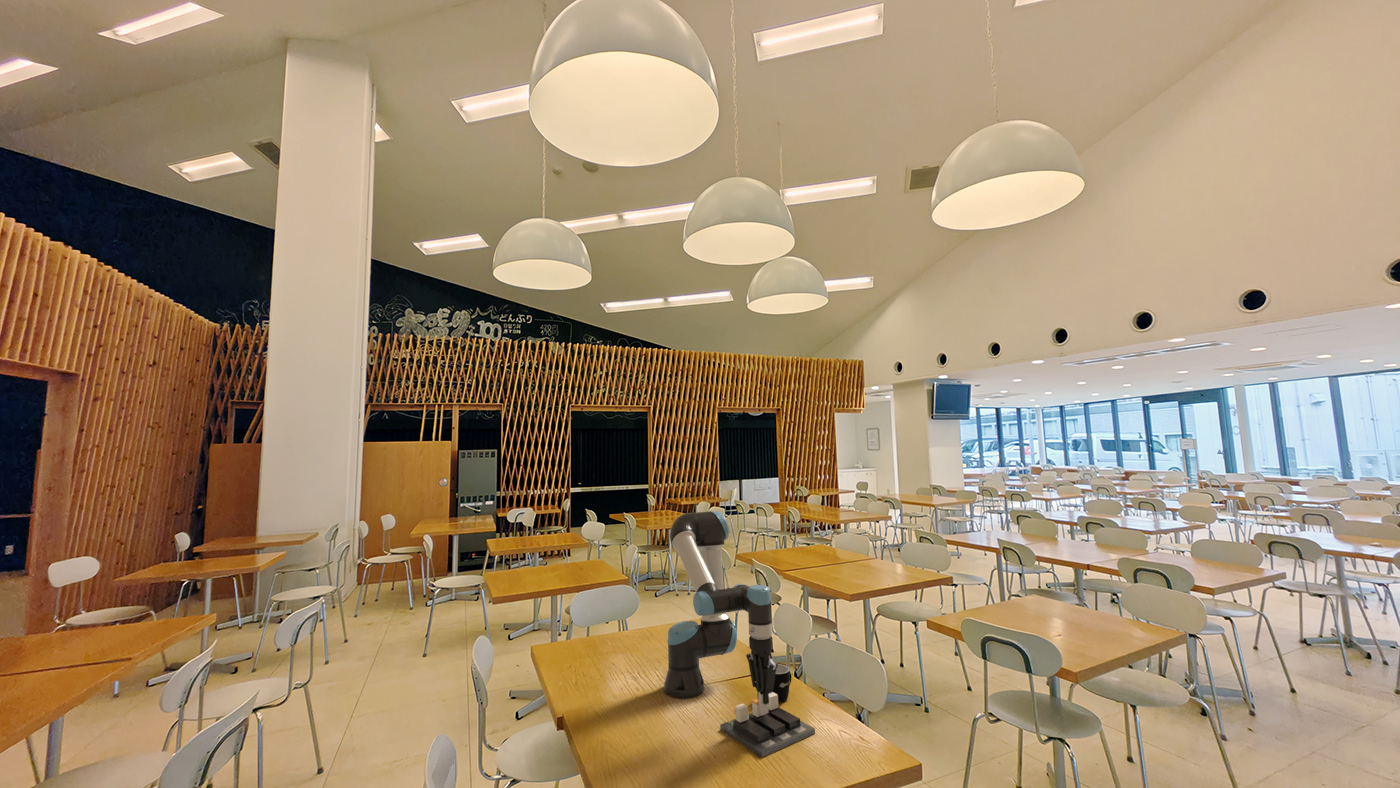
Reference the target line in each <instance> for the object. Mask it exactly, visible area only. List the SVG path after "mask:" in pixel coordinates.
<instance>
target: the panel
mask: <svg viewBox="0 0 1400 788" xmlns="http://www.w3.org/2000/svg"><path fill="white" fill-rule="evenodd" d="M768 712H769V713H767V714H765V715H762V716H760V717H756V716H755V715H753V711H752V712H750V713H749V712H748V720H746V721H743V722H738V721H737V720H735V718H733V719H732V720H730V721H729V720H728V721H725V722H724V723H721V724H719V728H720V731H722V732H723V733H725V734H726V736H727V735H728V736H729V737H731V739H733V740H735V741H737V743H739V744H740V745H742V746H744V747H746V748H747V749H748V750H750V751H751V752H752V753H754V754H756V755H757V756H759V758H762V759H763V758H765V757H766V756H769V755H771V754H773V753H775V752H778V751H780V750H782V749H784V748H786V747H788V746H791V745H793V744H795V743H797V742H799V741H803V740H805V739H806V738H808V737H810V736H813V735H815V734H816V728H815V727H813V726H811V725H810V724H807V723H806V722H804V721H802V720H801V718H800V717H797V716H796V715H794V714H792V713H790V712H788V711H786V710H785V709H783V708H781V707H780V706H778V708H776V709H773V710H769V709H768Z"/></svg>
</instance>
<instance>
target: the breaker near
mask: <svg viewBox="0 0 1400 788" xmlns="http://www.w3.org/2000/svg"><path fill="white" fill-rule="evenodd" d="M748 709H749V708H748V704H747V705H746V704H745V703H740V704H737V705H735V706H734V715H735V718H734V719H735V720H737V721H738V722H743V721H746V720H748V714H749V710H748Z"/></svg>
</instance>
